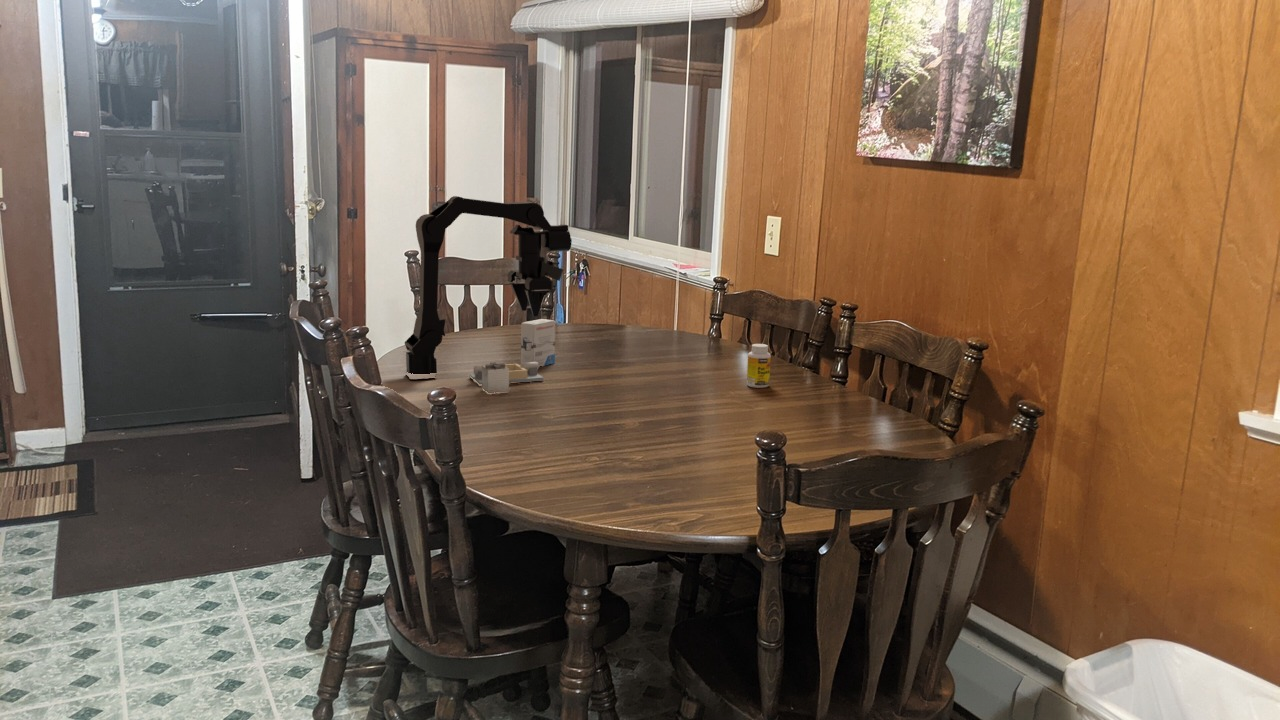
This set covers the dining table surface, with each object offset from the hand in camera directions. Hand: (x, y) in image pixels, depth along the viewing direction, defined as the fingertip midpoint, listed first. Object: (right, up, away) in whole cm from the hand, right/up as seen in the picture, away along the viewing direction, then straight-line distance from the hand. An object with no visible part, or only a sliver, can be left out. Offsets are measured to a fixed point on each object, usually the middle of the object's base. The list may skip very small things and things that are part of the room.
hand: (529, 313), depth 255 cm
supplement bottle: (+57, -18, -9) cm, 61 cm away
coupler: (-6, -19, -21) cm, 29 cm away
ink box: (+1, -13, +8) cm, 16 cm away
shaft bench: (-5, -17, -9) cm, 20 cm away
